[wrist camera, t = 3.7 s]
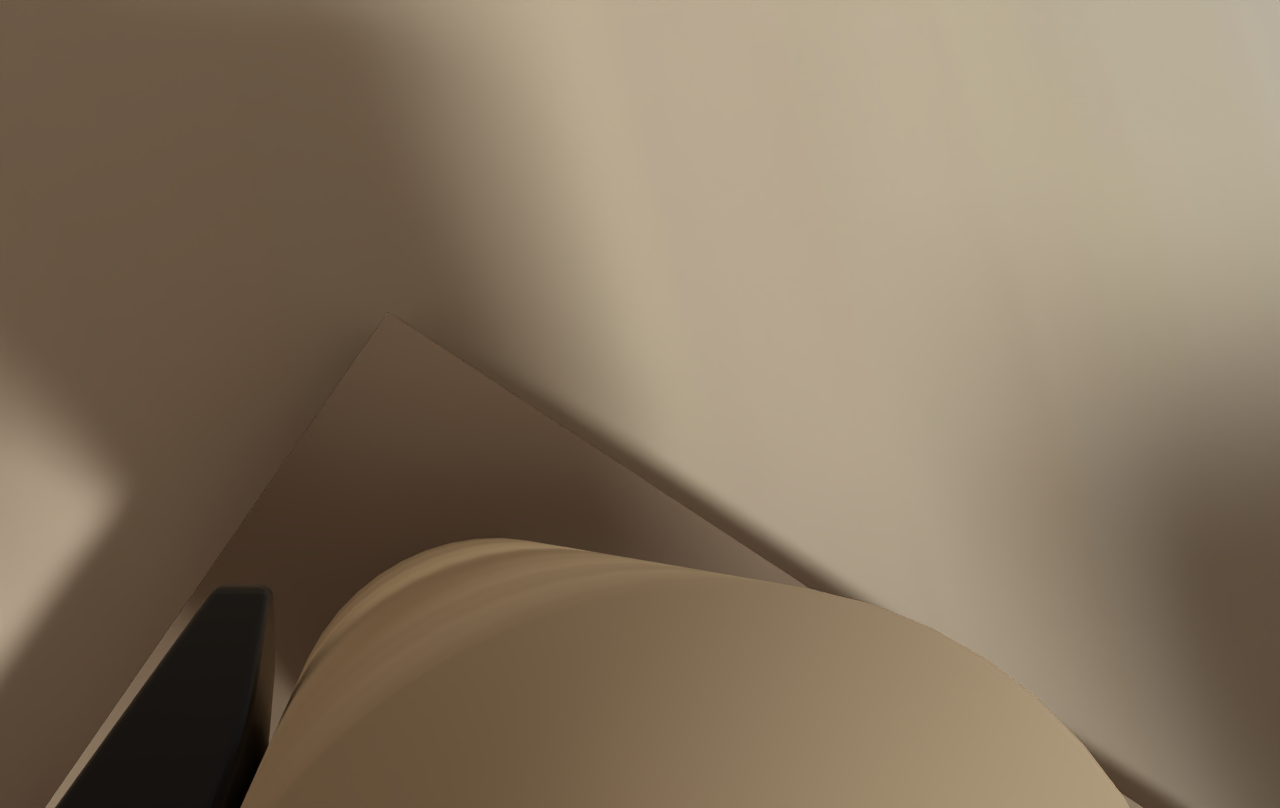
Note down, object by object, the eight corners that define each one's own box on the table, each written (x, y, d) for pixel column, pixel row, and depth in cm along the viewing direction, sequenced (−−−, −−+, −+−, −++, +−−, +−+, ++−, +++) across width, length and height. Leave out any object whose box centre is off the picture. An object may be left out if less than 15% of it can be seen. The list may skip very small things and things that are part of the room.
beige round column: (514, 914, 15) (900, 2002, 4) (237, 752, 14) (-194, 1511, 3) (679, 636, 15) (1373, 914, 5) (422, 473, 15) (550, 367, 4)
